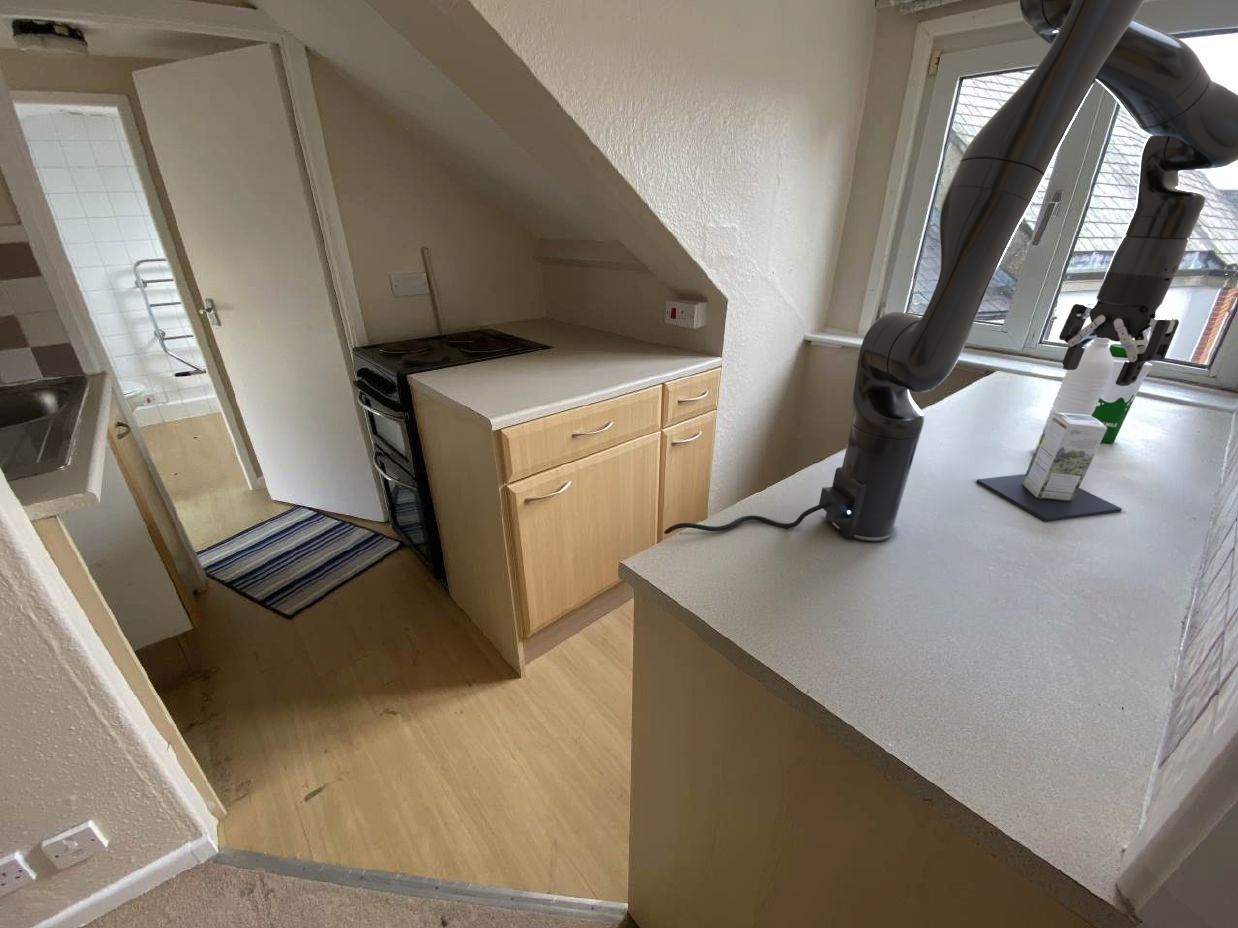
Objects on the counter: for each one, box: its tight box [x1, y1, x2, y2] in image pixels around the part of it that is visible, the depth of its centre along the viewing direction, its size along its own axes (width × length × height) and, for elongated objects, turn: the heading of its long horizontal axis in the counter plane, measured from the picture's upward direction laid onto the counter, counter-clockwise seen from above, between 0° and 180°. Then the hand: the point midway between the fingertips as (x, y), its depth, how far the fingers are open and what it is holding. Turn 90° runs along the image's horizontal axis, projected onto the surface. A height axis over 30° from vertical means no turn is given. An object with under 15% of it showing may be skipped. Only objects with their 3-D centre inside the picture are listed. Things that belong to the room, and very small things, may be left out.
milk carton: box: [1092, 343, 1154, 444], centre depth 116 cm, size 9×9×20 cm
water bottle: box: [1033, 338, 1114, 454], centre depth 105 cm, size 9×6×25 cm
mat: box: [976, 473, 1123, 522], centre depth 95 cm, size 16×14×1 cm
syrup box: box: [1022, 412, 1107, 501], centre depth 91 cm, size 6×6×14 cm
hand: (1094, 377), depth 85 cm, fingers open, 8 cm apart
